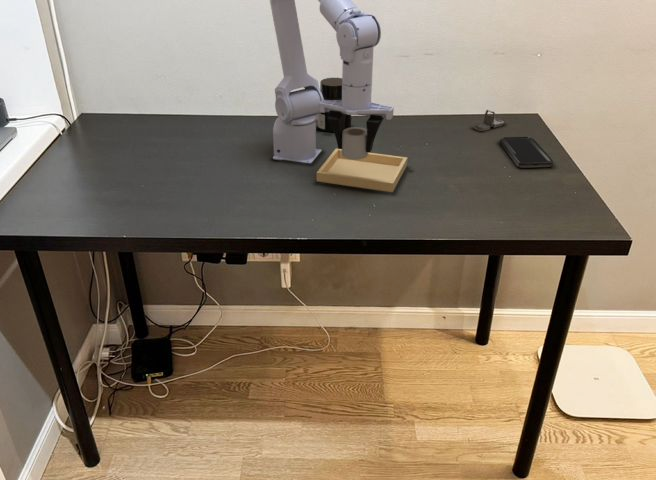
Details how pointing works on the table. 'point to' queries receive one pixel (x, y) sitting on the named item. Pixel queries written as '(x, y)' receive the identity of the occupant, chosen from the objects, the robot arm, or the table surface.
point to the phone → (525, 152)
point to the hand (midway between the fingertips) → (354, 148)
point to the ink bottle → (330, 91)
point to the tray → (363, 171)
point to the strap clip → (489, 122)
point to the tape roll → (354, 143)
